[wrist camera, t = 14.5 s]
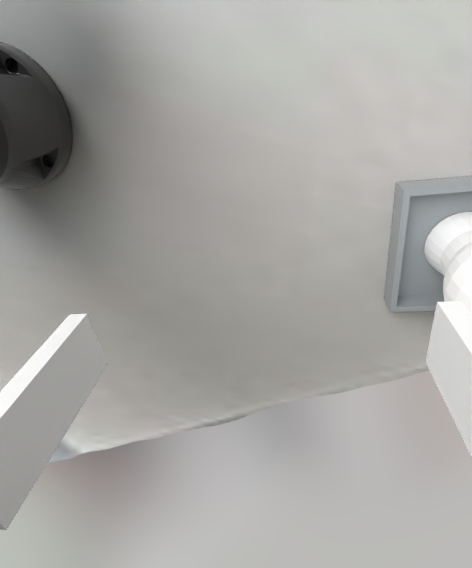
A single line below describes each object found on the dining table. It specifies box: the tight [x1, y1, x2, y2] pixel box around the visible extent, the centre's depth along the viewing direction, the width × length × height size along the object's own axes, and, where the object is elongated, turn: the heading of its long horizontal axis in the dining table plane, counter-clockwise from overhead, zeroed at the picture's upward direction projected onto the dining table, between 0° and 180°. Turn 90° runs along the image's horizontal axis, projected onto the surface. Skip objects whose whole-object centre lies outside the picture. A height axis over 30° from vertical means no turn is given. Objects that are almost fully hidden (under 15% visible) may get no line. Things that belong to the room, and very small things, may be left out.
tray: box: [384, 176, 472, 312], centre depth 40 cm, size 15×15×3 cm
